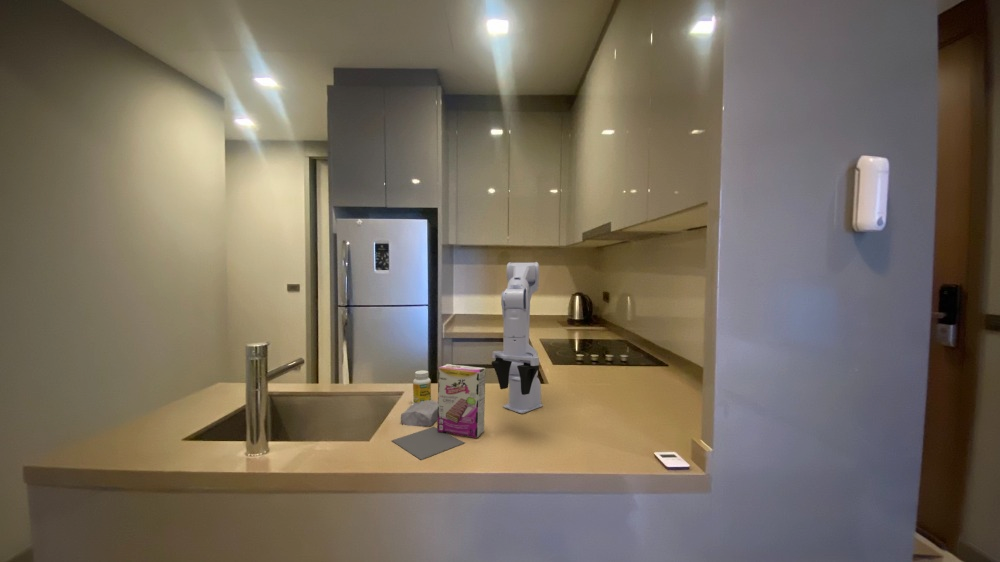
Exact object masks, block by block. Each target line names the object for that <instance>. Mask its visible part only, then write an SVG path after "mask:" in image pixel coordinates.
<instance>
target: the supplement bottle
mask: <svg viewBox="0 0 1000 562" xmlns="http://www.w3.org/2000/svg"><path fill="white" fill-rule="evenodd" d="M414 376H415V378H414V379H413V380H412V389H413V392H412V393H413V396H412V397H413V399H412V400H413V404H414V403H417V402H421V401H426V400H431V401H432V389H431V388H432V386H431V385H432V383H431V382H432V379H431V378H430V377H429V371H428V370H417V371H415V372H414Z"/></svg>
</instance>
